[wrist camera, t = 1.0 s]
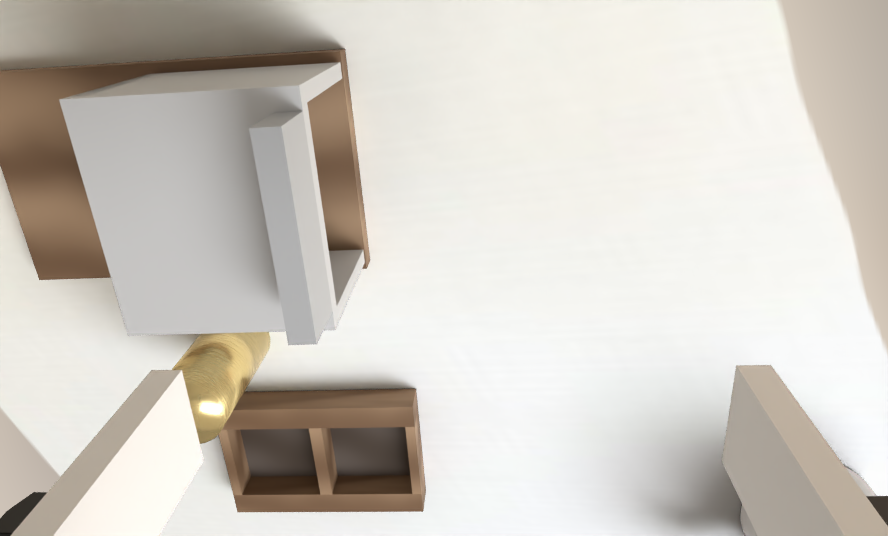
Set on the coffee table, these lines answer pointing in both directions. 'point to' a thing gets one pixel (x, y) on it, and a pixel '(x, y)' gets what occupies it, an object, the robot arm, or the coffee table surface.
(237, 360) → the peg
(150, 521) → the robot arm
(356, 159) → the pattern board
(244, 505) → the socket block
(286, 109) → the cover
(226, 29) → the coffee table surface
